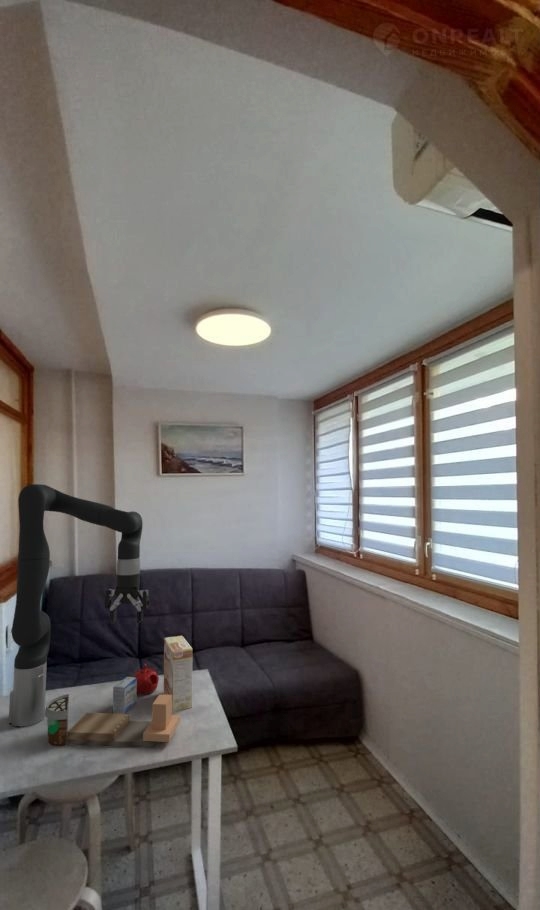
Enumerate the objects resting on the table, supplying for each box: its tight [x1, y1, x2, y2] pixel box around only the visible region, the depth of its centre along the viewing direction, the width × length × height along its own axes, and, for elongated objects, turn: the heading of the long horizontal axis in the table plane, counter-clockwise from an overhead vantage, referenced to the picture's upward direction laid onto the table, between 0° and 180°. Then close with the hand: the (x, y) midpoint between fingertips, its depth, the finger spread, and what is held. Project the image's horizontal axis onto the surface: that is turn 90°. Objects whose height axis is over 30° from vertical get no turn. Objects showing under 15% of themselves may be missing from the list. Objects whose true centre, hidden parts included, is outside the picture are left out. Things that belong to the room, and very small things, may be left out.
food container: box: [44, 693, 70, 747], centre depth 126 cm, size 12×6×10 cm, turn 23°
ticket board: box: [66, 712, 160, 749], centre depth 128 cm, size 26×11×4 cm, turn 86°
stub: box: [143, 694, 181, 743], centre depth 127 cm, size 8×11×9 cm
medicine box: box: [112, 676, 138, 714], centre depth 144 cm, size 8×4×9 cm, turn 168°
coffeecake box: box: [163, 635, 193, 713], centre depth 150 cm, size 15×7×20 cm, turn 25°
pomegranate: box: [132, 663, 160, 695], centre depth 157 cm, size 10×10×9 cm
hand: (126, 621), depth 141 cm, fingers open, 8 cm apart
